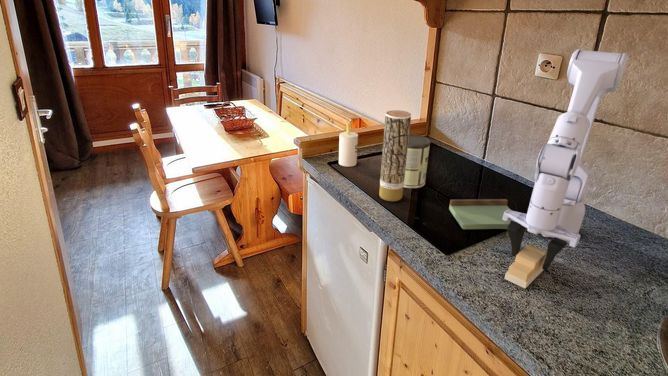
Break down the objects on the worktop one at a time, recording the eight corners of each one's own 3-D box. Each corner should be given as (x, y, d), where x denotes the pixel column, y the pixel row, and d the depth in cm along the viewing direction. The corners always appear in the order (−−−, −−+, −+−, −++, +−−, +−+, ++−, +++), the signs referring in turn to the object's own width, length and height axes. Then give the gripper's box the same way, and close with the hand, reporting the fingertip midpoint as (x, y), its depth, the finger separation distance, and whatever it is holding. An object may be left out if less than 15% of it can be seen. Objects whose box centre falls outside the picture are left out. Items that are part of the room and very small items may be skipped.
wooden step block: (524, 260, 91) (529, 242, 89) (544, 269, 88) (549, 251, 86) (504, 278, 85) (508, 260, 83) (525, 288, 82) (530, 269, 80)
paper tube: (403, 202, 115) (413, 117, 105) (379, 202, 115) (387, 116, 105) (400, 192, 122) (409, 110, 111) (377, 191, 122) (384, 110, 111)
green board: (504, 208, 114) (506, 199, 113) (523, 228, 104) (525, 218, 103) (448, 209, 113) (450, 199, 111) (462, 229, 103) (464, 219, 102)
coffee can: (392, 174, 134) (395, 133, 128) (423, 176, 133) (428, 135, 127) (393, 187, 125) (397, 144, 119) (426, 189, 124) (432, 146, 118)
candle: (351, 168, 138) (353, 125, 132) (335, 164, 141) (336, 122, 135) (360, 162, 143) (362, 121, 137) (344, 158, 146) (345, 118, 140)
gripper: (501, 197, 82) (489, 253, 88) (578, 224, 73) (558, 285, 79) (516, 188, 87) (503, 241, 93) (591, 212, 77) (571, 270, 83)
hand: (530, 260), depth 86 cm, fingers open, 6 cm apart
